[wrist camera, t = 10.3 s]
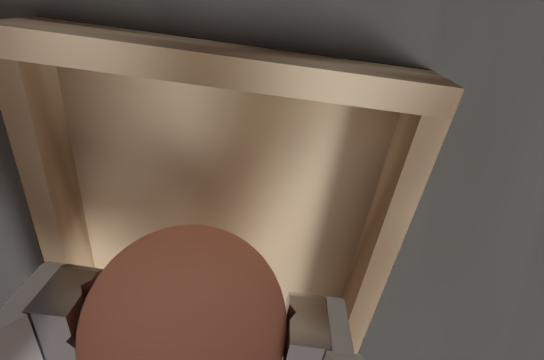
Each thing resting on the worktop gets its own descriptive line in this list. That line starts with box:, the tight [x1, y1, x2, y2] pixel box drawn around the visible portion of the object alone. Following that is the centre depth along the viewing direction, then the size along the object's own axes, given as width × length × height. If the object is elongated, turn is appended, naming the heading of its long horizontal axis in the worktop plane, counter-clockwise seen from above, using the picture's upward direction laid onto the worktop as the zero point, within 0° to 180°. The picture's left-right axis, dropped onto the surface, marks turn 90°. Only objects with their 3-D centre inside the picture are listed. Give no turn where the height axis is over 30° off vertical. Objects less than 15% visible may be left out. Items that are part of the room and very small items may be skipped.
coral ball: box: [75, 224, 287, 360], centre depth 9 cm, size 5×5×5 cm
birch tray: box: [0, 16, 464, 354], centre depth 12 cm, size 12×12×2 cm
